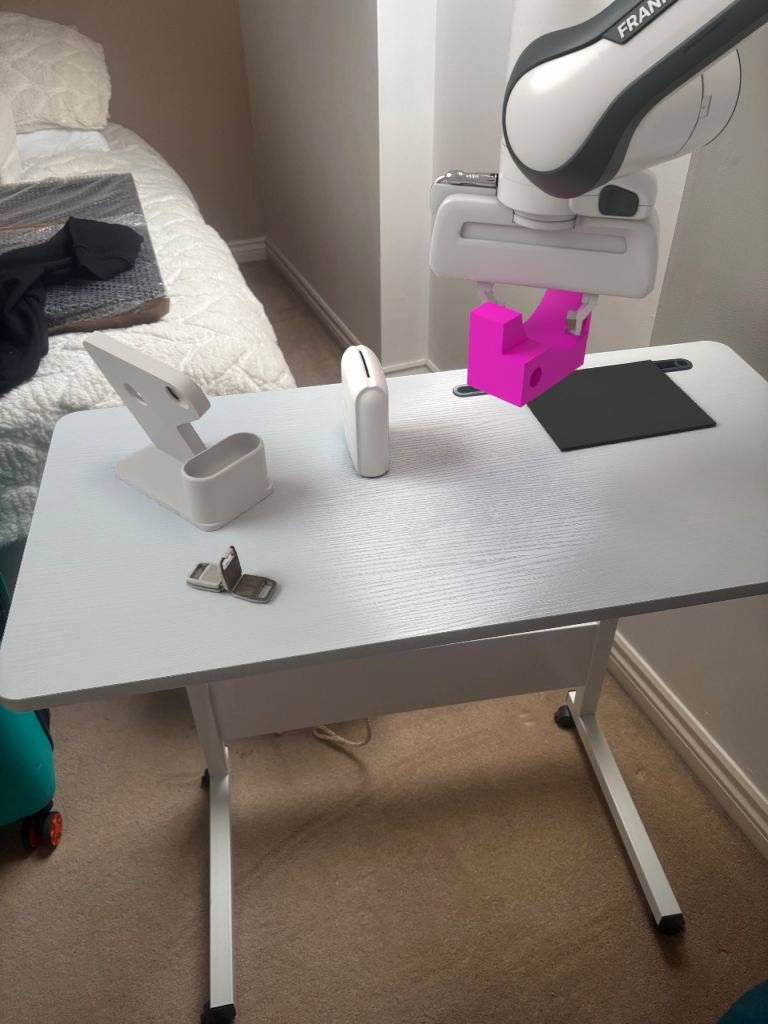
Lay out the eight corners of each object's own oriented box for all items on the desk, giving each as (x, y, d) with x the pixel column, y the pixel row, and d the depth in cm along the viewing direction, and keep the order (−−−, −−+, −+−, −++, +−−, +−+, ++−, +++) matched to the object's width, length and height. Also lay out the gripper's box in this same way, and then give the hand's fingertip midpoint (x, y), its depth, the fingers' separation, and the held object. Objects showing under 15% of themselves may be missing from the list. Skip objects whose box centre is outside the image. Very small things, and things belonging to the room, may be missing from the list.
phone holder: (281, 489, 91) (264, 341, 79) (211, 537, 85) (182, 384, 73) (178, 433, 99) (149, 292, 88) (107, 473, 93) (67, 327, 82)
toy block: (520, 407, 75) (527, 333, 70) (466, 384, 79) (469, 311, 74) (609, 346, 83) (620, 275, 79) (557, 327, 87) (565, 258, 82)
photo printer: (341, 430, 100) (336, 337, 92) (376, 426, 100) (374, 333, 92) (355, 481, 92) (351, 384, 84) (393, 476, 92) (392, 379, 85)
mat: (650, 362, 112) (650, 359, 111) (715, 426, 100) (716, 422, 99) (510, 383, 108) (510, 379, 107) (561, 452, 96) (562, 448, 95)
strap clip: (184, 586, 79) (176, 553, 77) (199, 565, 82) (192, 533, 79) (266, 606, 77) (261, 573, 74) (279, 584, 79) (274, 551, 77)
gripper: (422, 179, 70) (419, 329, 79) (673, 200, 65) (641, 357, 74) (439, 157, 75) (435, 301, 83) (675, 175, 70) (644, 325, 79)
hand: (533, 327), depth 79 cm, fingers closed on toy block, 6 cm apart
